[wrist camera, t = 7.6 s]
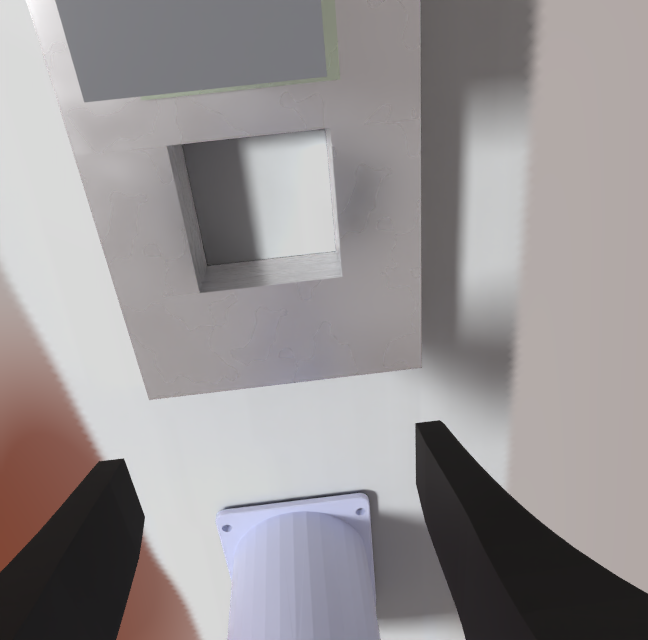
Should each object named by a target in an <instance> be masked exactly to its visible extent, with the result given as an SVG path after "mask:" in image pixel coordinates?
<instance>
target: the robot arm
mask: <svg viewBox="0 0 648 640" xmlns="http://www.w3.org/2000/svg"><path fill="white" fill-rule="evenodd" d="M415 424H416V485H417V490H418V494H419V498H420V502H421V507H422V511H423V515H424V519H425V522H426V525H427V528H428V531H429V534H430V537H431V539H432V542H433V545H434V548H435V550H436V553H437V556H438V559H439V561H440V564H441V567H442V570H443V572H444V575H445V578H446V581H447V583H448V586H449V589H450V591H451V594H452V597H453V600H454V602H455V605H456V608H457V611H458V614H459V617H460V621H461V624H462V627H463V631H464V634H465V638H466V640H648V594H647V593H646V592H644V591H642V590H640V589H638V588H637V587H635V586H634V585H632V584H630V583H628V582H627V581H625V580H623V579H622V578H620V577H618V576H616V575H615V574H613V573H612V572H610V571H609V570H607V569H606V568H604V567H603V566H601V565H600V564H598V563H597V562H595V561H594V560H592V559H591V558H589V557H588V556H586V555H585V554H583V553H582V552H580V551H579V550H577V549H575V548H574V547H573V546H571V545H570V544H569V543H567V542H566V541H565V540H563V539H562V538H561V537H559V536H558V535H557V534H555V533H554V532H553V531H552V530H550V529H549V528H548V527H546V526H545V525H544V524H543V523H541V522H540V521H539V520H538V519H536V518H535V517H534V516H533V515H532V514H531V513H529V512H528V511H527V510H526V509H525V508H524V507H523V506H522V505H520V504H519V503H518V502H517V501H516V500H515V499H514V498H513V497H512V496H511V495H509V494H508V493H507V492H506V491H505V490H504V489H503V488H502V487H501V486H500V485H499V484H498V483H497V482H496V481H495V480H494V479H493V478H492V477H491V476H490V475H489V474H488V473H487V472H486V471H485V470H484V469H483V468H482V467H481V466H480V465H479V464H478V462H477V461H476V460H475V459H474V458H473V457H472V456H471V455H470V454H469V453H468V451H467V450H466V449H465V448H464V447H463V446H462V445H461V444H460V442H459V441H458V440H457V439H456V438H455V436H454V435H453V434H452V433H451V432H450V430H449V429H448V428H447V427H446V425H445V424H444V423H443V422H441V421H440V420H439V421H431V422H422V423H415ZM359 508H362V509H359ZM144 520H145V516H144V513H143V510H142V508H141V505H140V502H139V499H138V496H137V494H136V491H135V488H134V485H133V483H132V480H131V477H130V474H129V471H128V469H127V466H126V463H125V460H124V459H116V460H107V461H99V462H98V463H97V464H96V466H95V467H94V468H93V469H92V470H91V471H90V473H89V474H88V475H87V476H86V477H85V478H84V480H83V481H82V482H81V483H80V484H79V485H78V487H77V488H76V489H75V490H74V491H73V493H72V494H71V495H70V496H69V497H68V499H67V500H66V501H65V502H64V503H63V504H62V506H61V507H60V508H59V509H58V510H57V511H56V513H55V514H54V515H53V516H52V517H51V518H50V520H49V521H48V522H47V523H46V524H45V525H44V526H43V527H42V529H41V530H40V531H39V532H38V533H37V534H36V535H35V536H34V537H33V539H32V540H31V541H30V542H29V543H28V544H27V545H26V546H25V547H24V548H23V549H22V550H21V551H20V552H19V553H18V554H17V555H16V557H15V558H14V559H13V560H12V561H11V562H10V563H9V564H8V565H7V566H6V567H5V568H4V569H3V570H2V571H1V572H0V640H116V638H117V635H118V631H119V628H120V624H121V620H122V617H123V614H124V610H125V607H126V603H127V600H128V596H129V592H130V589H131V585H132V581H133V578H134V574H135V571H136V567H137V563H138V559H139V554H140V548H141V542H142V535H143V527H144ZM216 525H217V529H218V532H219V536H220V540H221V544H222V547H223V551H224V555H225V558H226V562H227V566H228V569H229V573H230V577H231V581H232V588H231V600H230V613H229V626H228V638H227V640H381V639H380V633H379V627H378V621H377V615H376V609H375V606H376V591H375V576H374V562H373V547H372V533H371V518H370V504H369V498H368V496H367V495H366V494H363V493H355V494H346V495H338V496H330V497H322V498H314V499H306V500H298V501H290V502H282V503H273V504H265V505H257V506H249V507H241V508H233V509H225V510H221V511H219V512H218V513H217V515H216ZM226 525H229V526H226Z"/></svg>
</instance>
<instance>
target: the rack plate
mask: <svg viewBox="0 0 648 640" xmlns="http://www.w3.org/2000/svg"><path fill="white" fill-rule="evenodd" d="M26 1H27V4H28V8H29V11H30V14H31V17H32V21H33V24H34V27H35V30H36V34H37V37H38V40H39V43H40V47H41V50H42V53H43V56H44V60H45V63H46V66H47V69H48V73H49V76H50V79H51V82H52V86H53V89H54V92H55V95H56V99H57V102H58V105H59V108H60V112H61V115H62V118H63V121H64V125H65V128H66V131H67V134H68V138H69V141H70V144H71V147H72V151H73V154H74V157H75V160H76V164H77V167H78V170H79V173H80V177H81V180H82V183H83V186H84V190H85V193H86V196H87V199H88V203H89V206H90V209H91V212H92V216H93V219H94V222H95V225H96V229H97V232H98V235H99V238H100V242H101V245H102V248H103V251H104V255H105V258H106V261H107V264H108V268H109V271H110V274H111V277H112V281H113V284H114V287H115V290H116V294H117V297H118V300H119V303H120V307H121V310H122V313H123V316H124V320H125V323H126V326H127V329H128V333H129V336H130V339H131V342H132V346H133V349H134V352H135V355H136V359H137V362H138V365H139V368H140V372H141V375H142V378H143V381H144V385H145V388H146V391H147V394H148V398H149V400H152V399H161V398H169V397H178V396H186V395H195V394H203V393H211V392H220V391H228V390H237V389H245V388H254V387H262V386H271V385H279V384H288V383H296V382H304V381H313V380H321V379H330V378H338V377H347V376H355V375H364V374H372V373H381V372H389V371H397V370H406V369H414V368H422V342H421V0H321V8H322V20H323V32H324V45H325V57H326V70H327V77H319V78H310V79H300V80H291V81H282V82H272V83H263V84H253V85H244V86H235V87H225V88H216V89H206V90H197V91H188V92H178V93H169V94H160V95H150V96H141V97H131V98H122V99H113V100H103V101H94V102H85V103H84V100H83V96H82V93H81V89H80V86H79V82H78V79H77V75H76V72H75V68H74V65H73V61H72V58H71V54H70V51H69V47H68V44H67V40H66V37H65V33H64V30H63V26H62V23H61V19H60V16H59V12H58V9H57V5H56V2H55V0H26ZM317 129H326V141H327V152H328V164H329V176H330V188H331V200H332V211H333V223H334V235H335V247H336V251H335V252H326V253H318V254H309V255H300V256H291V257H282V258H273V259H264V260H256V261H247V262H238V263H229V264H220V265H211V266H207V262H206V257H205V253H204V248H203V243H202V238H201V234H200V229H199V224H198V219H197V215H196V210H195V205H194V200H193V196H192V191H191V186H190V182H189V177H188V172H187V167H186V163H185V158H184V153H183V148H182V144H187V143H197V142H206V141H215V140H224V139H234V138H243V137H252V136H262V135H271V134H280V133H289V132H299V131H308V130H317Z"/></svg>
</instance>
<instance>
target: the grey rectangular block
mask: <svg viewBox="0 0 648 640" xmlns="http://www.w3.org/2000/svg"><path fill="white" fill-rule="evenodd" d="M55 2H56V5H57V9H58V12H59V16H60V19H61V23H62V26H63V30H64V33H65V37H66V40H67V44H68V47H69V51H70V54H71V58H72V61H73V65H74V68H75V72H76V75H77V79H78V82H79V86H80V89H81V93H82V96H83V100H84V103H85V102H94V101H103V100H113V99H122V98H131V97H141V96H150V95H160V94H169V93H178V92H188V91H197V90H206V89H216V88H225V87H235V86H244V85H253V84H263V83H272V82H282V81H291V80H300V79H310V78H319V77H327V70H326V57H325V45H324V32H323V20H322V8H321V0H55Z"/></svg>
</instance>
